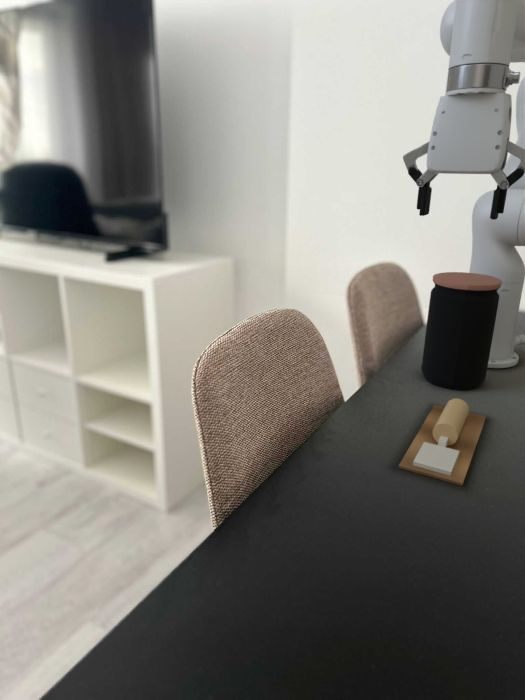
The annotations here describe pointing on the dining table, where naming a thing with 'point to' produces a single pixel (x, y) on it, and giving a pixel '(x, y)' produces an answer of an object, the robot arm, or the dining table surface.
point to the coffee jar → (460, 329)
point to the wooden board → (463, 444)
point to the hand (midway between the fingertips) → (457, 216)
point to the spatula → (444, 439)
